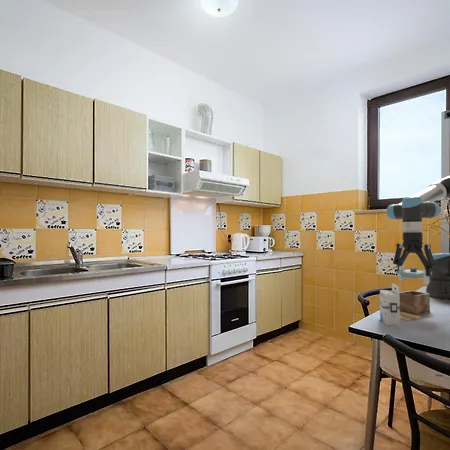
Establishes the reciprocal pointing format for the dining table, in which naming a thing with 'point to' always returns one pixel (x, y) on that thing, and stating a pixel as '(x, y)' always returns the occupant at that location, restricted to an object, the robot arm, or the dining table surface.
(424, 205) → the robot arm
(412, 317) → the trivet
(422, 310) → the box
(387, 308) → the ink box
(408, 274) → the lid
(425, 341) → the dining table surface
